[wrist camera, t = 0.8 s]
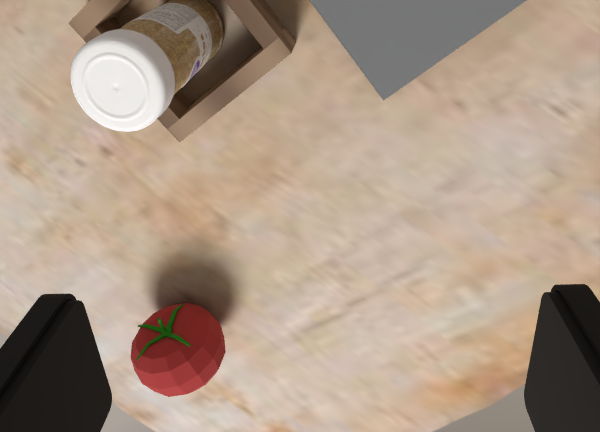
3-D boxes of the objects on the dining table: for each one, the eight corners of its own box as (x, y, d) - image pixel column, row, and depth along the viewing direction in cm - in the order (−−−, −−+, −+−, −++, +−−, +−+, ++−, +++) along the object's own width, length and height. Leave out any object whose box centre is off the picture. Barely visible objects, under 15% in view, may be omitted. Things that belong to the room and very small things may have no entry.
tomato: (189, 429, 45) (145, 376, 40) (138, 386, 50) (93, 335, 45) (254, 355, 48) (221, 299, 44) (200, 322, 53) (165, 268, 49)
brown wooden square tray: (192, -92, 33) (178, -91, 31) (296, 42, 37) (291, 53, 34) (88, 14, 37) (68, 23, 35) (191, 126, 41) (179, 142, 38)
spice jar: (216, 71, 38) (154, 147, 27) (153, 49, 38) (62, 116, 26) (232, 5, 36) (172, 57, 24) (165, -19, 36) (71, 22, 24)
